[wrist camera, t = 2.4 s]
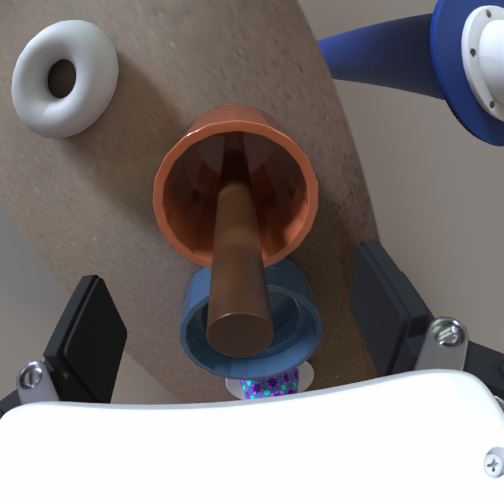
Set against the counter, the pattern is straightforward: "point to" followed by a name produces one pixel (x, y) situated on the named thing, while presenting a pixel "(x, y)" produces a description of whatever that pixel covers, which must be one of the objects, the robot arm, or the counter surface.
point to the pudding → (273, 384)
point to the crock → (208, 179)
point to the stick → (237, 268)
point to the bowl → (283, 318)
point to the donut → (86, 87)
